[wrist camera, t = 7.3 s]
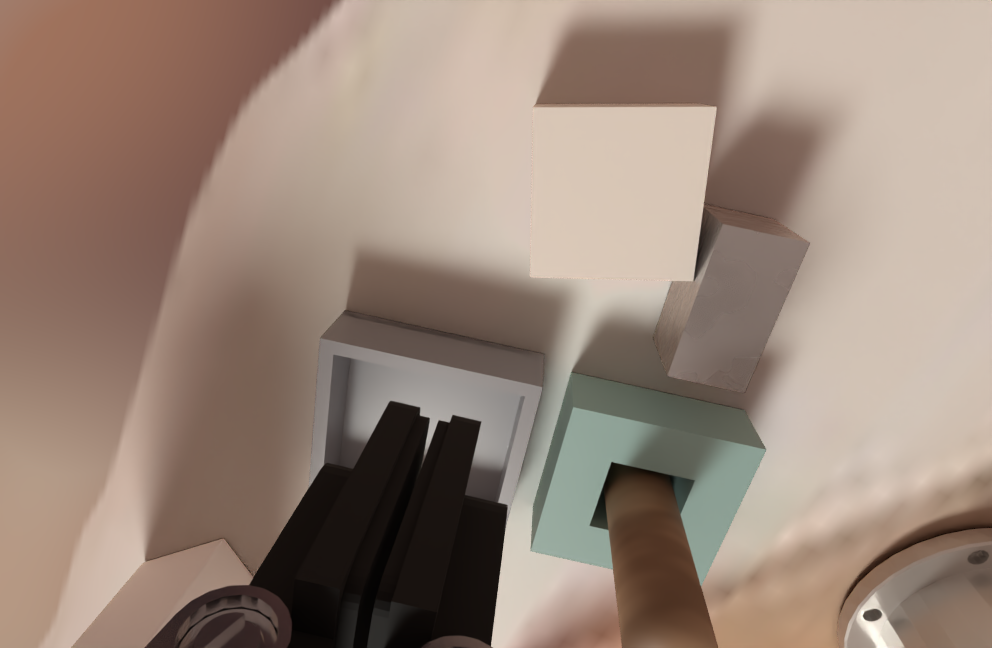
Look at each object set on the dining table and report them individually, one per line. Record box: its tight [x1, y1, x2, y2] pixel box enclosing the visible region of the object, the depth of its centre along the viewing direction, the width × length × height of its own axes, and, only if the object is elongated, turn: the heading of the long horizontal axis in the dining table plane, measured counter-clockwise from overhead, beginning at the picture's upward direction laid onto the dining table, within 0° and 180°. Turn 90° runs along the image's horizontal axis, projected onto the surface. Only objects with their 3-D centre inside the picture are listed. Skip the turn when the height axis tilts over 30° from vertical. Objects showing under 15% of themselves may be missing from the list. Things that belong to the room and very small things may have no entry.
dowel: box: [603, 462, 718, 648], centre depth 23 cm, size 3×3×10 cm
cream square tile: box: [530, 103, 717, 281], centre depth 21 cm, size 6×6×3 cm
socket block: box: [531, 372, 766, 586], centre depth 26 cm, size 8×8×3 cm
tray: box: [309, 310, 544, 528], centre depth 26 cm, size 9×9×3 cm
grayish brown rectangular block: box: [653, 204, 810, 393], centre depth 22 cm, size 3×6×4 cm, turn 169°
